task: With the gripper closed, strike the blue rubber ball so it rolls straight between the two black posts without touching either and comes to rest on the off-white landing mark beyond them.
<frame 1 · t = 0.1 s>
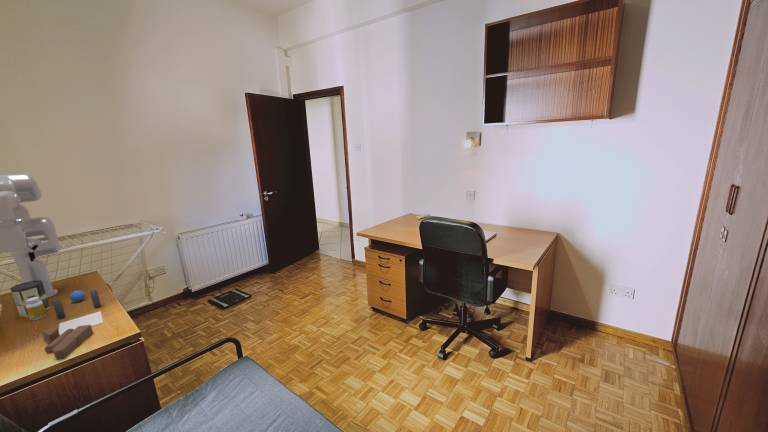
hand: (15, 264, 127), 31 cm above the cabinet, tool pointing down, fingers open, 9 cm apart
landing mark: (81, 323, 139), on the cabinet
post 2: (97, 307, 153), on the cabinet
post 1: (61, 317, 144), on the cabinet
coffee can: (35, 311, 150), on the cabinet
wooden block set: (55, 349, 122), on the cabinet
supplement bottle: (38, 317, 145), on the cabinet
ball: (77, 296, 159), on the cabinet
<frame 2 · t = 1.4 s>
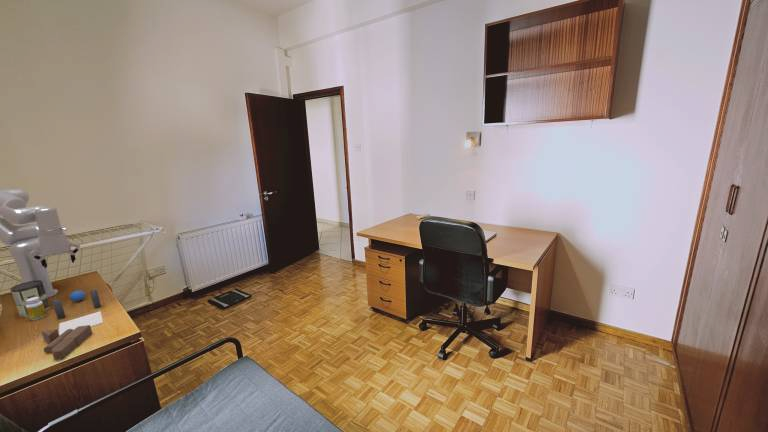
hand: (59, 264, 154), 20 cm above the cabinet, tool pointing down, fingers open, 9 cm apart
nothing on the cabinet moved.
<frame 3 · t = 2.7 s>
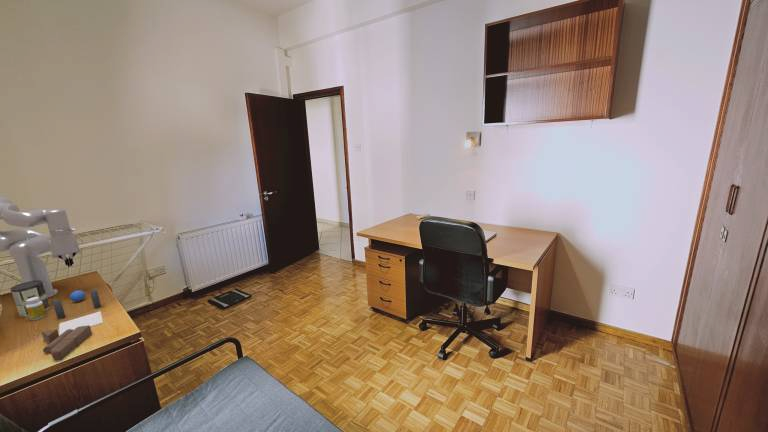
hand: (70, 265, 162), 17 cm above the cabinet, tool pointing down, fingers closed
nothing on the cabinet moved.
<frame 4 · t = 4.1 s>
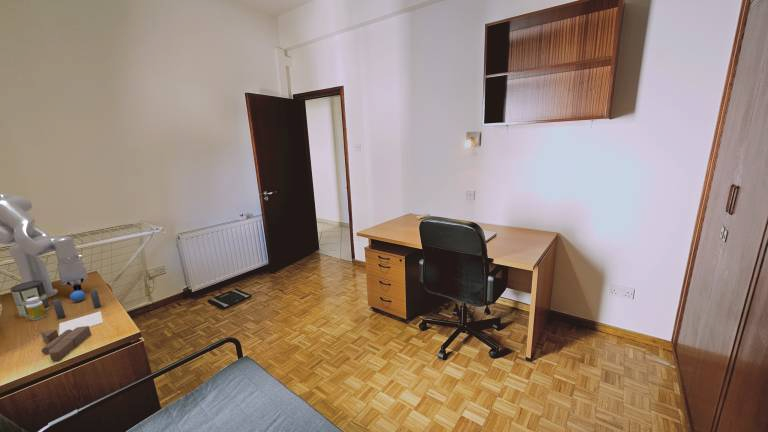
hand: (78, 291, 165), 2 cm above the cabinet, tool pointing down, fingers closed
nothing on the cabinet moved.
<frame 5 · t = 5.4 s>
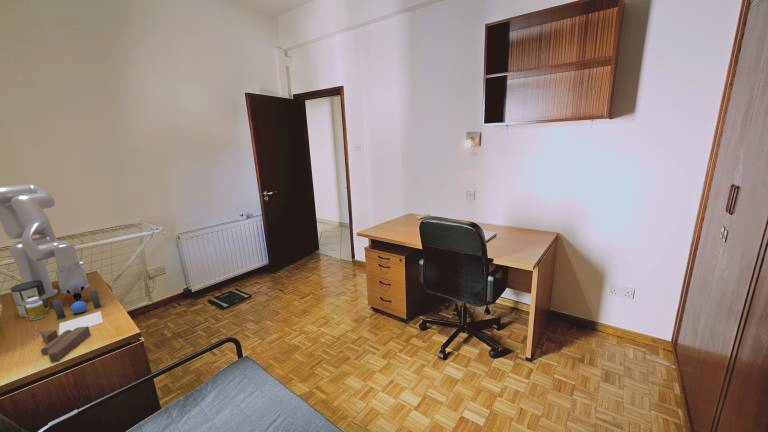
hand: (78, 300, 157), 2 cm above the cabinet, tool pointing down, fingers closed
ball: (78, 307, 148), on the cabinet
everything else where it was.
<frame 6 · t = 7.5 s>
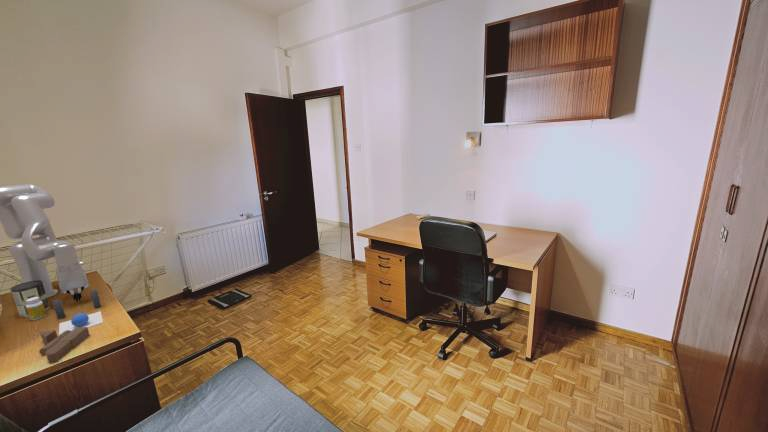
hand: (78, 300, 157), 2 cm above the cabinet, tool pointing down, fingers closed
ball: (80, 319, 137), on the cabinet
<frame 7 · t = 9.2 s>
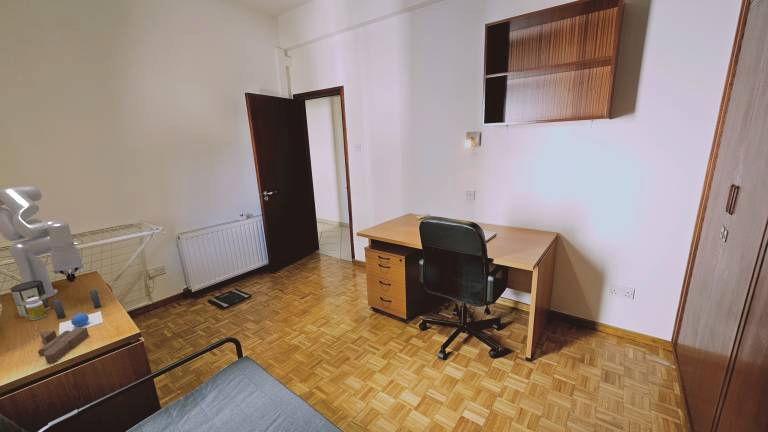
hand: (72, 281, 155), 12 cm above the cabinet, tool pointing down, fingers closed
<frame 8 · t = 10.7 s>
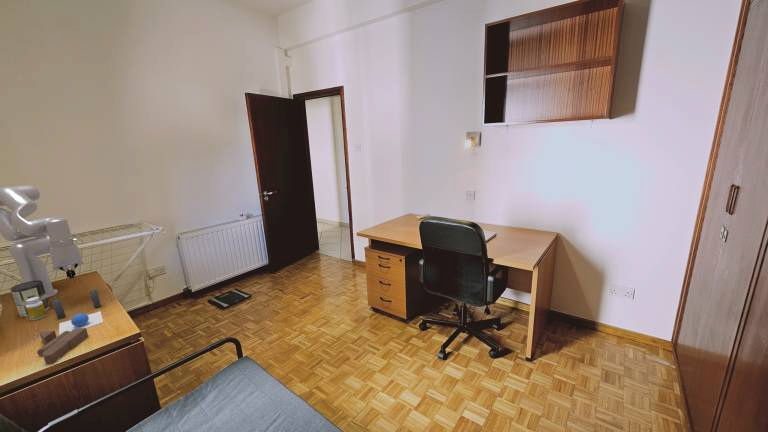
hand: (72, 277, 154), 14 cm above the cabinet, tool pointing down, fingers closed
at the end: ball 2.4 cm from the landing mark (horizontally); ball never touched post 2; ball never touched post 1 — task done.
